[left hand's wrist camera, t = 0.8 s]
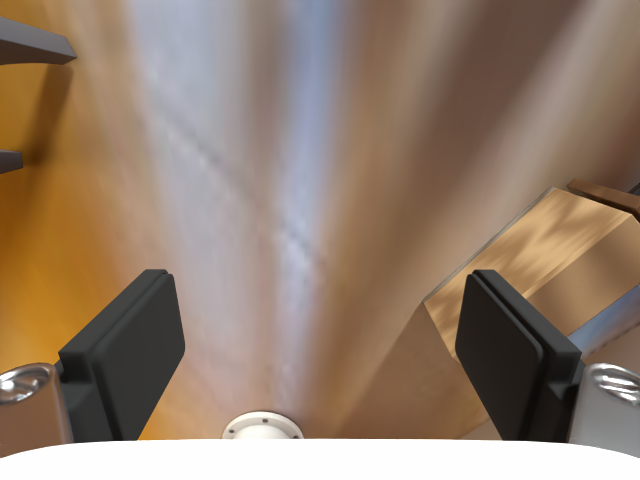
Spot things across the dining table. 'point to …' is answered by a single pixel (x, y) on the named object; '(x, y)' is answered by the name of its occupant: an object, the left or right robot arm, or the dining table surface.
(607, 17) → the dining table surface
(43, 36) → the planter
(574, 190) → the drawer
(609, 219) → the wooden crate box
